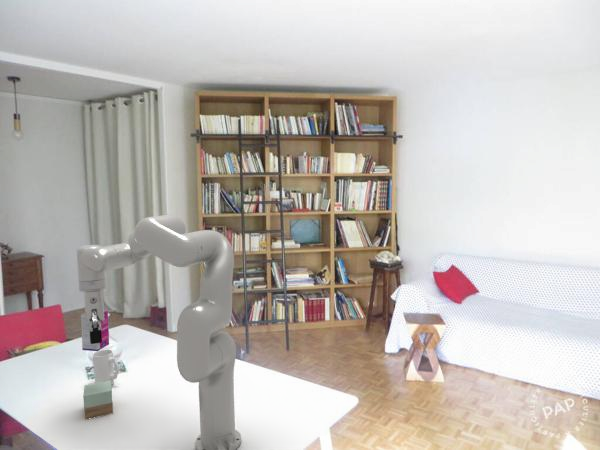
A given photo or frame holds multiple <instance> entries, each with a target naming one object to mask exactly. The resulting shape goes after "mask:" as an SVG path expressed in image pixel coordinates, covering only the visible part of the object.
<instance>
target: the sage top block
mask: <svg viewBox="0 0 600 450" xmlns="http://www.w3.org/2000/svg"><path fill="white" fill-rule="evenodd" d="M112 386H113V385H111V380H110V381H105V382H99V383H95V382H94V383H88V384H85V385H84V388H83V394H82V397H83V409H85V408H88V407H93V406H98V405H103V404H108V403H112V402H113V389H112Z"/></svg>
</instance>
